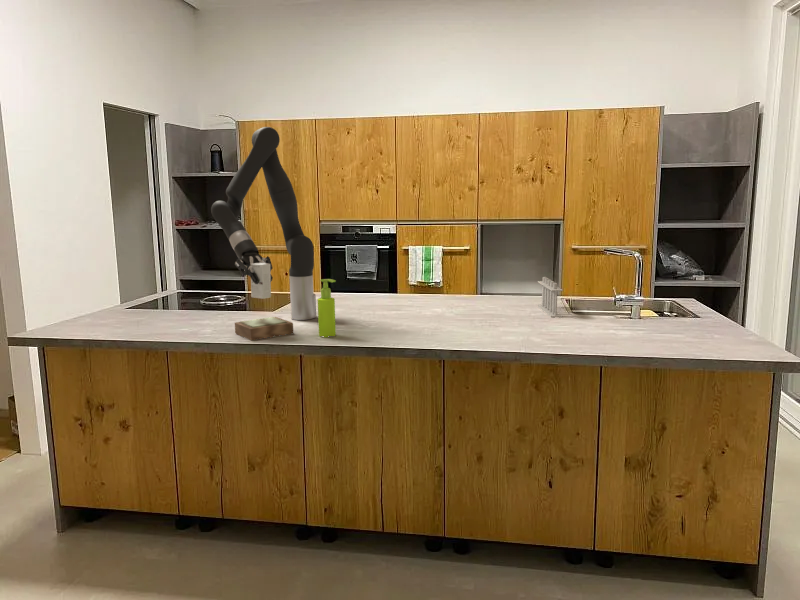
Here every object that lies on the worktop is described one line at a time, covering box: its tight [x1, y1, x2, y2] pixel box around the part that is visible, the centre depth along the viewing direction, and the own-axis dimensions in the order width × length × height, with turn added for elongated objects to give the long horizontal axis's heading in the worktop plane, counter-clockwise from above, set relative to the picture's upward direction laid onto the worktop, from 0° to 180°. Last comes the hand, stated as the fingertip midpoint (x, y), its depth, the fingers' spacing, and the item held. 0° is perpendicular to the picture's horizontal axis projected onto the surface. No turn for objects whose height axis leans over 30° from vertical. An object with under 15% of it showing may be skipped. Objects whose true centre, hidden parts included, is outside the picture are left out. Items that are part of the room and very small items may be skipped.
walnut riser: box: [234, 316, 294, 341], centre depth 220 cm, size 16×14×4 cm
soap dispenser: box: [317, 278, 337, 338], centre depth 214 cm, size 6×7×20 cm
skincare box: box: [250, 263, 272, 300], centre depth 217 cm, size 6×4×12 cm
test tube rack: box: [536, 276, 564, 319], centre depth 252 cm, size 25×4×13 cm, turn 0°
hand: (264, 281), depth 216 cm, fingers closed on skincare box, 4 cm apart
